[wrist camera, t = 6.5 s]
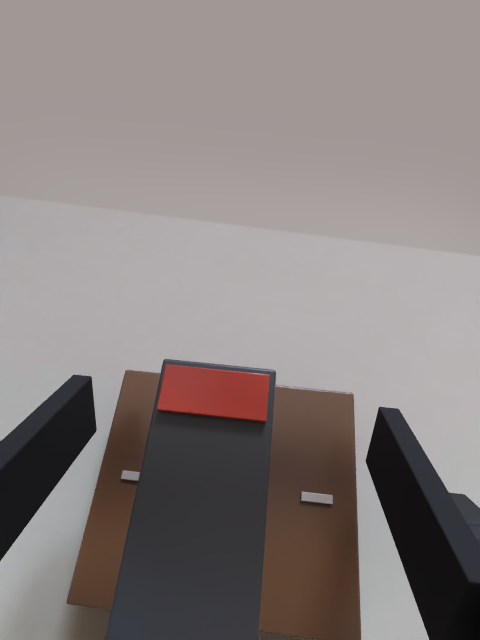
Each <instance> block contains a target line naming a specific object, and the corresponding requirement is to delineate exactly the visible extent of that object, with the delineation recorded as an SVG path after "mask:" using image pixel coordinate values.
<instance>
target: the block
mask: <svg viewBox="0 0 480 640" xmlns="http://www.w3.org/2000/svg"><path fill="white" fill-rule="evenodd" d="M275 381H276V371H275V370H269V369H259V368H249V367H239V366H230V365H220V364H210V363H200V362H190V361H180V360H170V359H165V360H164V361H163V364H162V369H161V374H160V379H159V384H158V388H157V393H156V398H155V403H154V407H153V412H152V417H151V422H150V426H149V431H148V436H147V441H146V445H145V450H144V455H143V460H142V464H141V469H140V474H139V479H138V483H137V488H136V493H135V498H134V502H133V507H132V512H131V517H130V521H129V526H128V531H127V536H126V540H125V545H124V550H123V555H122V559H121V564H120V569H119V574H118V578H117V583H116V588H115V593H114V597H113V602H112V607H111V612H110V617H109V621H108V626H107V631H106V636H105V640H259V626H260V610H261V595H262V580H263V565H264V549H265V534H266V519H267V503H268V488H269V473H270V458H271V442H272V427H273V412H274V396H275Z"/></svg>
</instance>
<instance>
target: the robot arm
mask: <svg viewBox="0 0 480 640" xmlns="http://www.w3.org/2000/svg"><path fill="white" fill-rule="evenodd" d="M96 431H97V430H96V420H95V409H94V398H93V388H92V377H91V376H81V375H73V376H72V377H71V378H70V379H69V380H68V381H66V382H65V383H64V384H63V385H62V386H61V387H60V388H59V389H58V390H57V391H55V392H54V393H53V394H52V395H51V396H50V397H49V398H48V399H47V400H46V401H45V402H43V403H42V404H41V405H40V406H39V407H38V408H37V409H36V410H35V411H34V412H33V413H31V414H30V415H29V416H28V417H27V418H26V419H25V420H24V421H23V422H22V423H20V424H19V425H18V426H17V427H16V428H15V429H14V430H13V431H12V432H11V433H10V434H8V435H7V436H6V437H5V438H4V439H3V440H2V441H0V561H1V559H2V558H3V557H4V555H5V554H6V552H7V551H8V550H9V548H10V547H11V546H12V544H13V543H14V542H15V540H16V539H17V538H18V536H19V535H20V533H21V532H22V531H23V529H24V528H25V527H26V525H27V524H28V523H29V521H30V520H31V519H32V517H33V516H34V515H35V513H36V512H37V510H38V509H39V508H40V506H41V505H42V504H43V502H44V501H45V500H46V498H47V497H48V496H49V494H50V493H51V491H52V490H53V489H54V487H55V486H56V485H57V483H58V482H59V481H60V479H61V478H62V477H63V475H64V474H65V473H66V471H67V470H68V468H69V467H70V466H71V464H72V463H73V462H74V460H75V459H76V458H77V456H78V455H79V454H80V452H81V451H82V449H83V448H84V447H85V445H86V444H87V443H88V441H89V440H90V439H91V437H92V436H93V435H94V433H95V432H96ZM366 464H367V466H368V469H369V472H370V475H371V478H372V480H373V483H374V486H375V489H376V491H377V494H378V497H379V500H380V503H381V505H382V508H383V511H384V514H385V517H386V519H387V522H388V525H389V528H390V531H391V533H392V536H393V539H394V542H395V545H396V547H397V550H398V553H399V556H400V559H401V561H402V564H403V567H404V570H405V573H406V575H407V578H408V581H409V584H410V587H411V589H412V592H413V595H414V598H415V601H416V603H417V606H418V609H419V612H420V614H421V617H422V620H423V623H424V626H425V628H426V631H427V634H428V637H429V640H480V508H479V507H478V506H477V505H475V504H474V503H473V502H472V501H471V500H470V499H469V498H468V497H467V496H466V495H464V494H455V493H449V492H448V491H447V489H446V487H445V486H444V484H443V482H442V481H441V479H440V477H439V476H438V474H437V472H436V471H435V469H434V467H433V466H432V464H431V462H430V461H429V459H428V457H427V456H426V454H425V452H424V451H423V449H422V447H421V445H420V444H419V442H418V440H417V439H416V437H415V435H414V434H413V432H412V430H411V429H410V427H409V425H408V424H407V422H406V420H405V419H404V417H403V415H402V414H401V412H400V410H399V409H395V408H385V407H379V409H378V414H377V418H376V422H375V426H374V430H373V434H372V438H371V442H370V446H369V450H368V454H367V458H366Z"/></svg>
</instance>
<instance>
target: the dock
mask: <svg viewBox="0 0 480 640" xmlns="http://www.w3.org/2000/svg"><path fill="white" fill-rule="evenodd" d="M160 374H161V373H152V372H142V371H133V370H126V371H125V375H124V379H123V383H122V387H121V391H120V395H119V399H118V402H117V406H116V410H115V414H114V418H113V422H112V426H111V430H110V434H109V438H108V442H107V446H106V449H105V453H104V457H103V461H102V465H101V469H100V473H99V477H98V481H97V485H96V489H95V493H94V497H93V500H92V504H91V508H90V512H89V516H88V520H87V524H86V528H85V532H84V536H83V540H82V544H81V547H80V551H79V555H78V559H77V563H76V567H75V571H74V575H73V579H72V583H71V587H70V591H69V595H68V598H67V604H72V605H79V606H86V607H93V608H100V609H107V610H111V607H112V602H113V597H114V593H115V588H116V583H117V578H118V574H119V569H120V564H121V559H122V555H123V550H124V545H125V540H126V536H127V531H128V526H129V521H130V517H131V512H132V507H133V502H134V498H135V493H136V488H137V483H138V479H139V474H140V469H141V464H142V460H143V455H144V450H145V445H146V441H147V436H148V431H149V426H150V422H151V417H152V412H153V407H154V403H155V398H156V393H157V388H158V384H159V379H160ZM259 631H261V632H268V633H275V634H282V635H289V636H296V637H303V638H310V639H317V640H361V617H360V585H359V553H358V521H357V489H356V457H355V425H354V395H353V394H352V393H346V392H336V391H326V390H317V389H307V388H297V387H288V386H278V385H275V396H274V412H273V427H272V442H271V458H270V473H269V488H268V503H267V519H266V534H265V549H264V565H263V580H262V595H261V610H260V626H259Z"/></svg>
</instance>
